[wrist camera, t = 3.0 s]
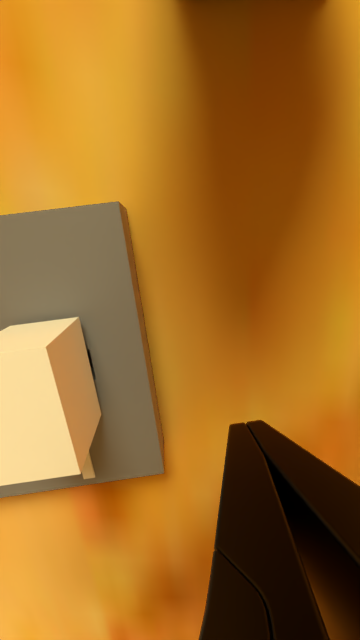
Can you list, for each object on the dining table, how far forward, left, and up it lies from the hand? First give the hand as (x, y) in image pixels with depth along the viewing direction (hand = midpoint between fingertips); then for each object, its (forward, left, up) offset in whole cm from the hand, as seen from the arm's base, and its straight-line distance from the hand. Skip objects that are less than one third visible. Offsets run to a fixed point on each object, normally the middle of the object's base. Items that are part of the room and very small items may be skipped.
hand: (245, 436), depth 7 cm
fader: (+7, 0, -8) cm, 10 cm away
